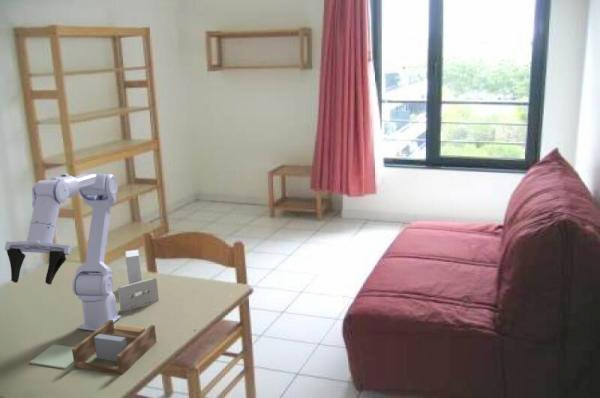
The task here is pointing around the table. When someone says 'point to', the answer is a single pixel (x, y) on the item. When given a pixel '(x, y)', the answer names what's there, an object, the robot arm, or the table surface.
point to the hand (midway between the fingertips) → (31, 282)
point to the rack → (123, 358)
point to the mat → (55, 357)
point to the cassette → (140, 299)
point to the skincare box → (133, 266)
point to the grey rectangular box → (109, 346)
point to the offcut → (128, 332)
